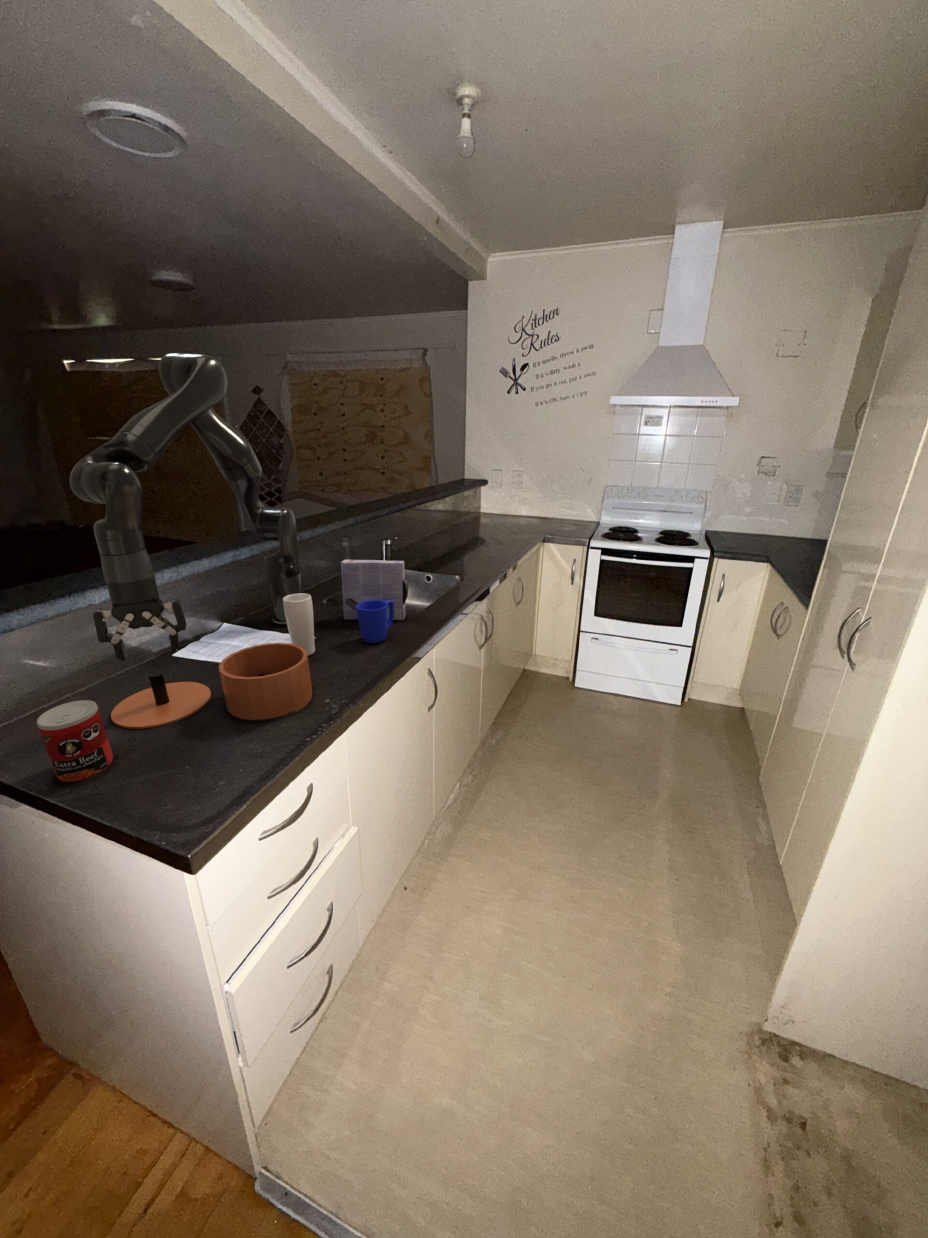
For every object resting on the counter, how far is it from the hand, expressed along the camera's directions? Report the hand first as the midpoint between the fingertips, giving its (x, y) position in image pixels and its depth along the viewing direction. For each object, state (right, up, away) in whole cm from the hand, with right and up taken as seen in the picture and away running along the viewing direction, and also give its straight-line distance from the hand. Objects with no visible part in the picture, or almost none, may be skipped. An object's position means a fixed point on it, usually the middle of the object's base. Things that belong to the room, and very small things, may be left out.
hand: (150, 655), depth 95 cm
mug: (+38, +2, +38) cm, 54 cm away
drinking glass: (+21, -2, +28) cm, 35 cm away
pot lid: (0, -10, +4) cm, 11 cm away
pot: (+21, -10, +7) cm, 24 cm away
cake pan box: (+35, +7, +52) cm, 63 cm away
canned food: (-2, -18, -14) cm, 23 cm away
